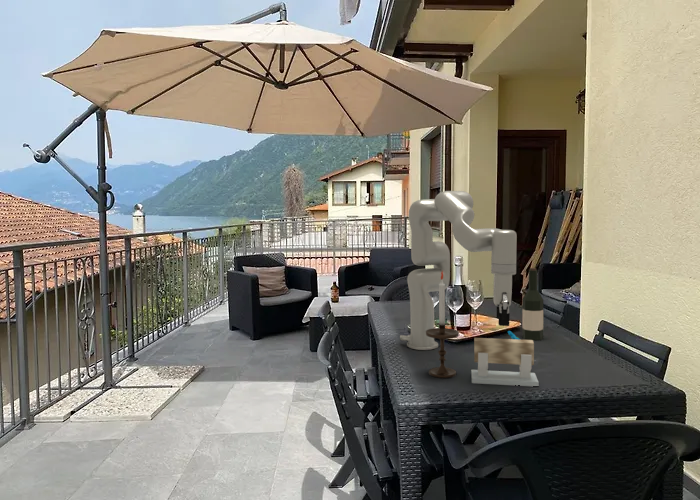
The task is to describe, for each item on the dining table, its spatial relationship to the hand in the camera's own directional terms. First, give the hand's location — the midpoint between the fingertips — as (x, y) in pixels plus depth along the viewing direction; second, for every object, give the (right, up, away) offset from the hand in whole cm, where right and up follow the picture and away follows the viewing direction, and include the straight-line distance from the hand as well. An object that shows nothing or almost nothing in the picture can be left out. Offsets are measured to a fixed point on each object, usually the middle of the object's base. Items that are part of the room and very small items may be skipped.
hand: (502, 322), depth 158 cm
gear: (+17, -16, +35) cm, 42 cm away
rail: (0, -13, +1) cm, 13 cm away
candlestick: (-18, -19, +8) cm, 27 cm away
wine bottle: (+29, -15, +53) cm, 62 cm away
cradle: (+1, -19, +1) cm, 19 cm away
